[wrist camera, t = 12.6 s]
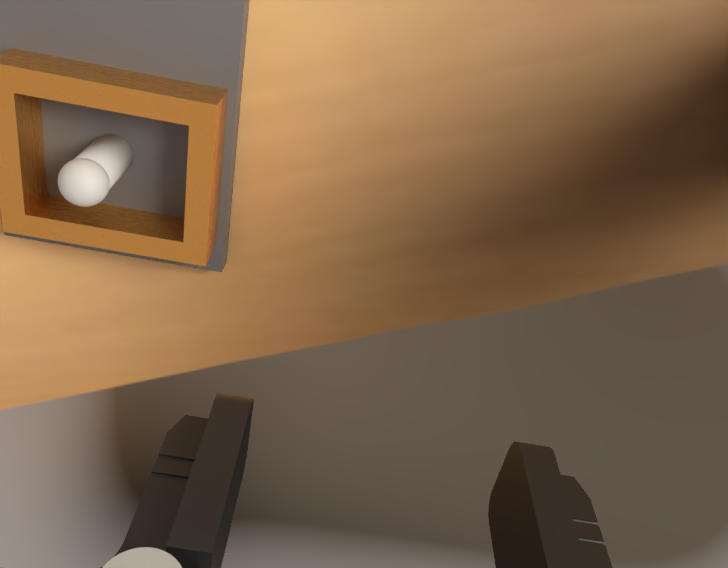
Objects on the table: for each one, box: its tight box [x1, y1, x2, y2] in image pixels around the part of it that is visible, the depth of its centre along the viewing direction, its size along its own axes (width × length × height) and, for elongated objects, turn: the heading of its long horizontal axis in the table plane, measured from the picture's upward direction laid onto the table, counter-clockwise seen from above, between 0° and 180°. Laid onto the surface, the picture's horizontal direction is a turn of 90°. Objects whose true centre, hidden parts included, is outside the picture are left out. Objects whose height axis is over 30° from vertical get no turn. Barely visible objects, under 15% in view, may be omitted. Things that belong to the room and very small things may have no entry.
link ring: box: [0, 48, 228, 266], centre depth 39 cm, size 12×10×3 cm
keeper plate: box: [0, 0, 249, 272], centre depth 37 cm, size 14×18×7 cm
